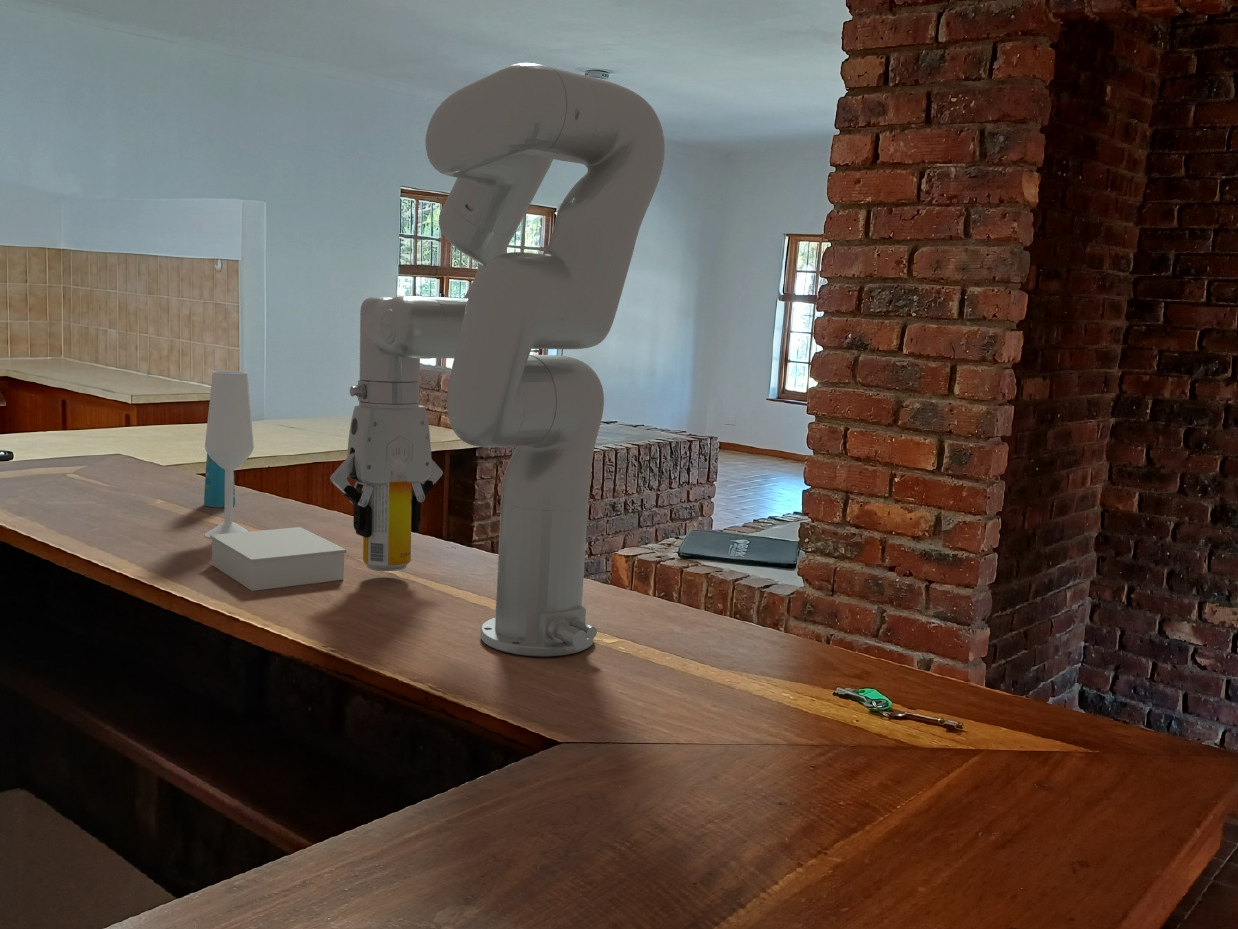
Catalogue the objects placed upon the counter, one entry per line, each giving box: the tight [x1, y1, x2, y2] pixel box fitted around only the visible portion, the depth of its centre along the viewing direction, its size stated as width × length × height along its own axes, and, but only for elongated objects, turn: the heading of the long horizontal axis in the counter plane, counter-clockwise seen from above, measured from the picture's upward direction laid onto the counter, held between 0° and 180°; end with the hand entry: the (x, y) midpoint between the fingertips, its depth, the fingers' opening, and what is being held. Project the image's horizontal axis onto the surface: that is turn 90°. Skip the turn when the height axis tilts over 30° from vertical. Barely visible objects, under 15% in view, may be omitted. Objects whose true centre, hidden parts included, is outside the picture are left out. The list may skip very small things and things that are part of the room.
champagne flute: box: [204, 370, 255, 539], centre depth 159 cm, size 7×7×24 cm
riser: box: [209, 526, 347, 592], centre depth 142 cm, size 14×12×4 cm
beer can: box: [362, 459, 412, 572], centre depth 141 cm, size 6×6×15 cm
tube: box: [203, 452, 236, 509], centre depth 179 cm, size 7×5×19 cm, turn 28°
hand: (387, 531), depth 141 cm, fingers closed on beer can, 6 cm apart
